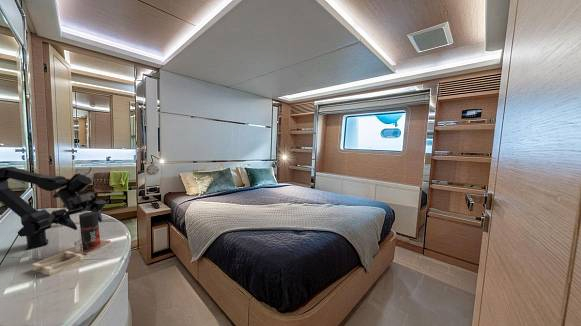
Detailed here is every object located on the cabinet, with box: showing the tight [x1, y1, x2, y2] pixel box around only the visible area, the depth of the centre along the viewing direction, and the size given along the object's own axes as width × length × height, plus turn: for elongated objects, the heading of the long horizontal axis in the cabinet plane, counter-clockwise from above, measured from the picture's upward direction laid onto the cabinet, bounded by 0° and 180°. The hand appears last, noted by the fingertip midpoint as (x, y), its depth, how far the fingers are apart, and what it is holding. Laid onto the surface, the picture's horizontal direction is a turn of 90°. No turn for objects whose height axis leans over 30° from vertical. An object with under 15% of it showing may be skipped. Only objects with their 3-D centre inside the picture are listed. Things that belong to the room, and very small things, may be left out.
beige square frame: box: [31, 250, 85, 277], centre depth 82 cm, size 10×10×2 cm
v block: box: [63, 238, 111, 255], centre depth 95 cm, size 10×11×3 cm
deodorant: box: [78, 211, 101, 249], centre depth 94 cm, size 6×6×15 cm
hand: (89, 225), depth 94 cm, fingers open, 9 cm apart
